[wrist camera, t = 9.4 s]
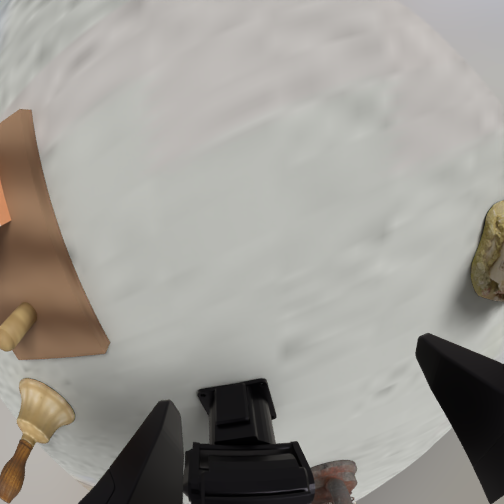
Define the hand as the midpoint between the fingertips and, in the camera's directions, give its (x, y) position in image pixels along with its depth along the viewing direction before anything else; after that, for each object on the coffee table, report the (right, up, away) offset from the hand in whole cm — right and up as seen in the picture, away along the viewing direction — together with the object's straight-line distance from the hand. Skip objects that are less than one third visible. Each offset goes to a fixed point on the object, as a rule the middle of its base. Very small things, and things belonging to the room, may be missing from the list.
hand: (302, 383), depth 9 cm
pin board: (-22, +4, +9) cm, 24 cm away
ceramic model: (+27, +4, +14) cm, 31 cm away
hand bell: (-27, -14, +16) cm, 34 cm away
